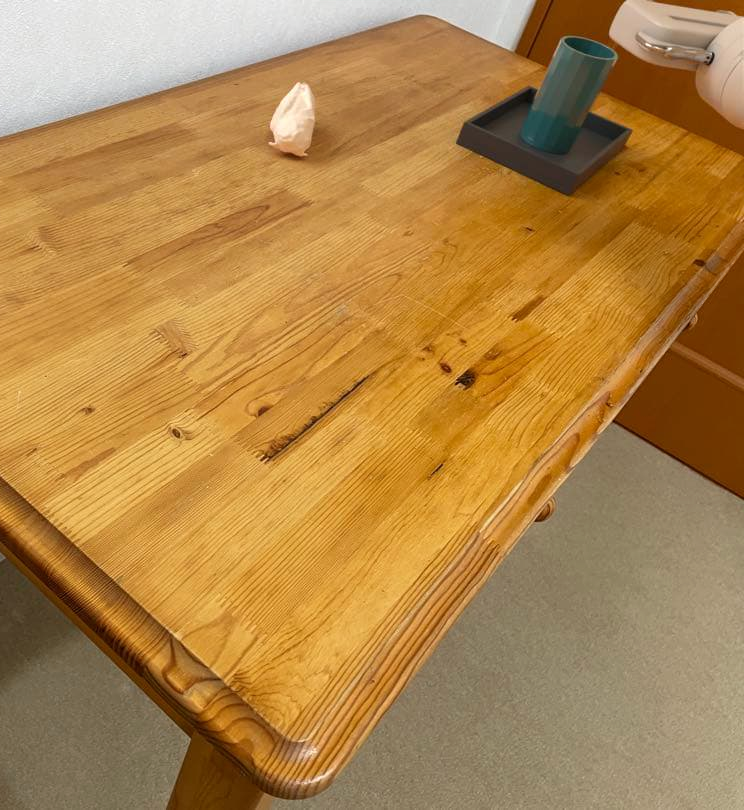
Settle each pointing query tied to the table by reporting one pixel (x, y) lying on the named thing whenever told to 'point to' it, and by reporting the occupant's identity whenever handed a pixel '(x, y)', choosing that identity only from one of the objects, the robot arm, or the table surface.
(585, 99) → the cup
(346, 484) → the table surface
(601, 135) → the tray
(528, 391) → the table surface
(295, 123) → the white crumpled piece
